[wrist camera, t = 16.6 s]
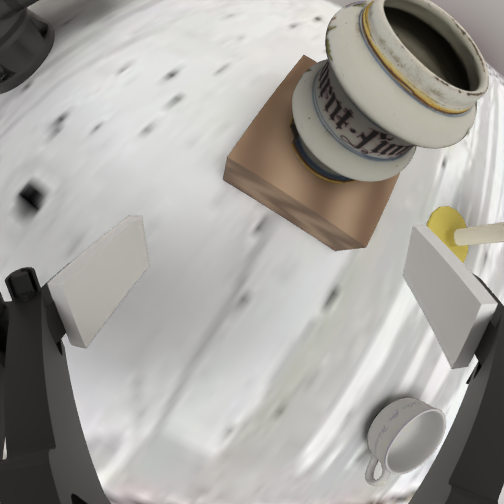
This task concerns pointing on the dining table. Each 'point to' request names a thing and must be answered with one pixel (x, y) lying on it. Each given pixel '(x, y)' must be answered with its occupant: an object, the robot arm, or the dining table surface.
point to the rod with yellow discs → (462, 231)
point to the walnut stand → (302, 178)
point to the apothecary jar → (386, 90)
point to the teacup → (403, 437)
